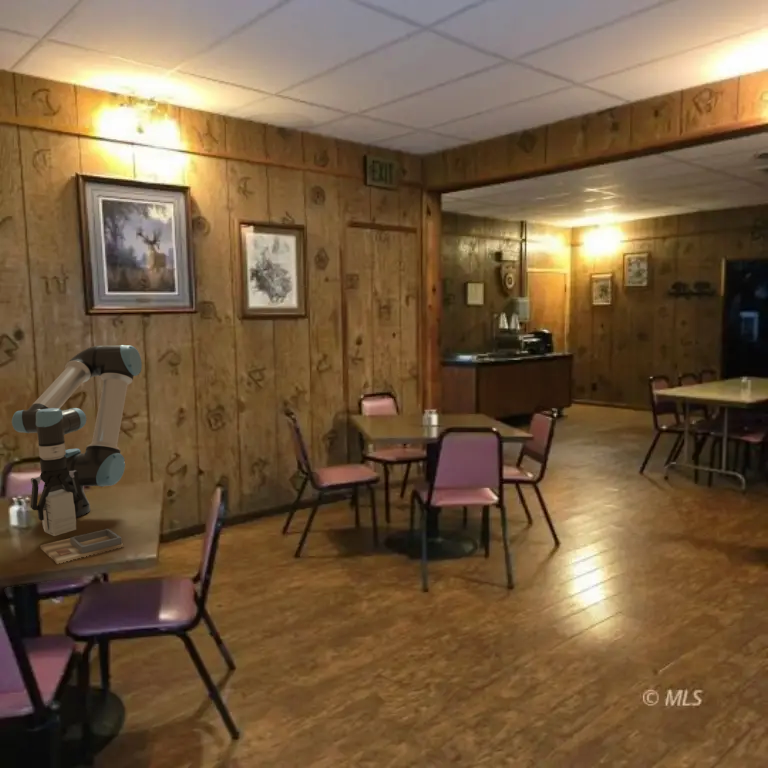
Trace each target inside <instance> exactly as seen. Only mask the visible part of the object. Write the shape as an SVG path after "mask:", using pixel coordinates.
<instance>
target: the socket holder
mask: <svg viewBox="0 0 768 768" xmlns="http://www.w3.org/2000/svg"><path fill="white" fill-rule="evenodd" d="M104 536H108V537H109V538H111V539H109V540H105V541H101V542H97V543H93V544H89V545H85V546H83V545H82V544H81V543H80V542H84V541H88V540H92V539H96V538H100V537H104ZM70 544H71V545H72V546H74V547H75V548H76V549H77V550H79V551H80V552H81V553H82V554H83V553H87V552H91V551H95V550H99V549H103V548H107V547H111V546H115V545H118V544H123V541H122V537H121V536H120V535H119V534H117V533H116V532H114V531H112V530H111V529H109V528H105V529H101V530H96V531H93V532H89V533H84V534H78V535H75V536H72V537H70Z"/></svg>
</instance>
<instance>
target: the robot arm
mask: <svg viewBox="0 0 768 768" xmlns="http://www.w3.org/2000/svg"><path fill="white" fill-rule="evenodd" d="M141 357H142V356H141V354H140V353H139V351H138V349H137V348H136V347H135V346H133V345H130V344H129V345H126V344H121V345H120V344H118V345H116V344H115V345H94V346H93V345H92V346H90V347H87V348H85V349H84V350H82V351H79V353H76V355H74V356H73V357H71V359H70V360H68V361H67V362H66V364H65V366H64V370H63V371H62V372H61V373H60V374H59V376H58V377H56V378H55V380H54V381H53V382H52V383H50V385H49V386H48V387H47V388H46V389H45V390H44V391H43V393H42V394H41V395H40V396H39V397H37V399H36V400H35V401H34V402H33V403H32V404H31V405H30V406H29V408H27V409H22V410H17V411H15V412H14V414H13V416H12V418H11V426H12V428H13V430H15V432H18V433H25V434H37V441H38V442H37V445H38V455H39V458H40V460H39V463H40V475H39V476H37V477H35V478H34V477H32V478H30V483H31V485H32V487H31V498H30V509H32V510H33V511H37V515H38V519H39V521H40V522H41V523H42V528H43V531H44V530H48V525H47V515H46V510H45V509H44V505H45V502H46V497H47V496H48V494H49V492H53V491H57V490H61V489H63V490H65V491H67V492H72V493H73V501H74V511H75V521H76V522H77V518H78V517H81V515H82V516H84V515H87V514H89V512H91V504H90V501H89V500H88V497H87V495H86V493H85V491H84V487H109V486H114V485H116V484H118V482H120V480H121V479H122V477H123V475H124V473H125V468H126V463H125V457H124V455H123V454H121V449H120V448H119V447H118V443H119V437H120V432H121V431H120V430H121V427H122V426H121V425H122V419H123V416H124V415H123V414H124V407H125V402H126V397H127V391H128V386H129V385H130V384H132V383H133V381H134V377H137V376H138V375H140V373H141V371H142V367H143V365H142V358H141ZM93 377H99V378H100V379H101V381H102V386H101V387H102V388H101V394H100V397H99V403H98V409H97V414H96V420H95V424H94V430H93V434H92V435H93V436H92V440H91V443H90V444H87V446H86V448H85V452H82V451H81V449H80V448H69V449H66V441H65V435H68V434H71V433H73V432H77V431H78V430H80V429H83V427H84V426H85V425H86V423H87V415H86V414H85V412H84V411H83V410H82V409H80V408H79V407H78V408H77V407H73V408H72V407H71V408H68V409H61V408H62V407H63V405H64V404H65V403H67V401H68V399H70V397H71V396H72V395H73V394H74V393H75V392H76V391H77V389H79V387H80V386H81V385H82V384H83V383H86V382H88V381H89V380H90V379H91V378H93ZM41 481H42V482H43V483H44V485H43V489H42V491H41V494H40V495H41V496H40V498H38V497H39V485H40V483H41ZM86 513H87V514H86Z"/></svg>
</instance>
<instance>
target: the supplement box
mask: <svg viewBox="0 0 768 768" xmlns="http://www.w3.org/2000/svg"><path fill="white" fill-rule="evenodd" d="M40 497H41V494H40ZM44 509H45V510H46V515H47V525H48V530H44V529H43V531H44V533H46V534H49V535H51V536H53V537H56V536H59V535H63V534H66V533H70V532H72V531H76V530H77V520H76V521H75V511H74V501H73V493H72V492H67V491H65V490H63V489H61V490H57V491H53V492H49V494H48V496H47V497H46V502H45V505H44Z"/></svg>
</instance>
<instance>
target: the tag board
mask: <svg viewBox="0 0 768 768" xmlns="http://www.w3.org/2000/svg"><path fill="white" fill-rule="evenodd" d="M70 538H71V537H70ZM70 538H66V539H65V538H64V539H61V540H56V541H52V542H48V543H44V544H43V543H42V544H40V545H39V546H40V550H41V551H43V552H44V553H45V554H46V555H47V556H48V557H49V558H50V557H51V558H52V559H53V560H54V561H55V564H57V565H60V564H64V563H67V562H66V561H68V562H71V561H70V560H72V561H74V560H73V559H76V560H78V559H77V558H80V559H82V558H81V557H84V558H86V556H87V557H90V556H89V555H91V556H94V555H93V554H95V555H98V554H97V553H99V554H102V553H101V552H103V553H106V552H105V551H107V552H110V551H109V550H111V551H114V550H117V549H116V548H118V549H122V548H124V543H122V544H118V545H115V546H111V547H107V548H103V549H99V550H95V551H91V552H87V553H83V554H82V553H81V552H80V551H79V550H77V549H76V548H75V547H74V546H72V545H71V544H70ZM109 539H111V538H109V537H108V536H104V537H100V538H96V539H92V540H88V541H84V542H80V543H81V544H82V545H83V546H85V545H89V544H93V543H97V542H101V541H105V540H109ZM121 547H122V548H121ZM113 549H114V550H113ZM51 558H50V559H51ZM52 559H51V560H52ZM53 560H52V561H53ZM54 561H53V562H54ZM63 562H64V563H63ZM59 563H60V564H59Z"/></svg>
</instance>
